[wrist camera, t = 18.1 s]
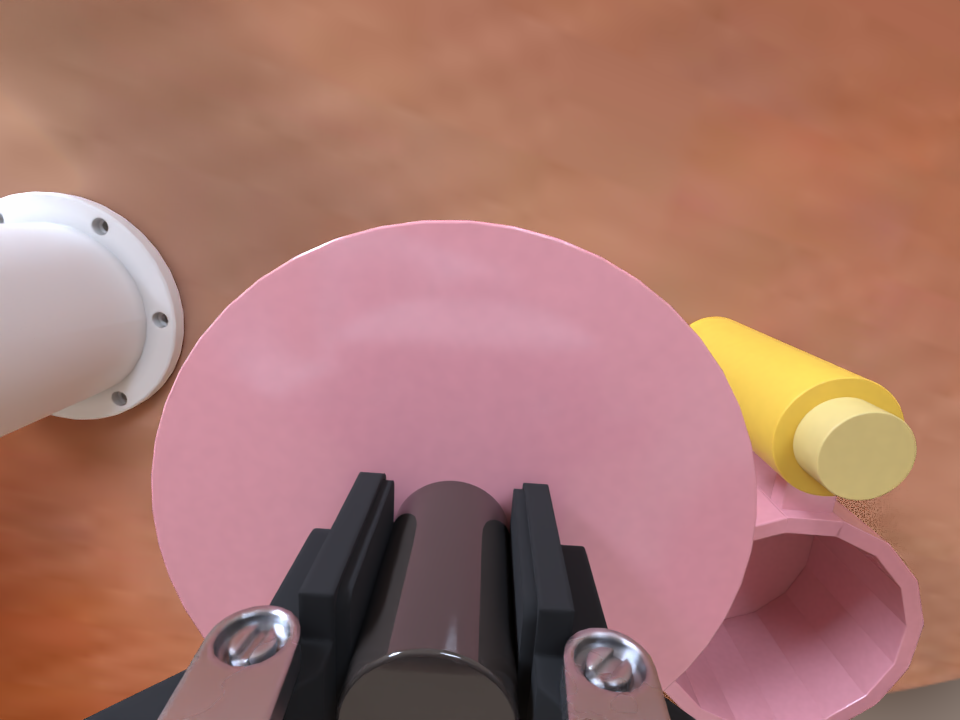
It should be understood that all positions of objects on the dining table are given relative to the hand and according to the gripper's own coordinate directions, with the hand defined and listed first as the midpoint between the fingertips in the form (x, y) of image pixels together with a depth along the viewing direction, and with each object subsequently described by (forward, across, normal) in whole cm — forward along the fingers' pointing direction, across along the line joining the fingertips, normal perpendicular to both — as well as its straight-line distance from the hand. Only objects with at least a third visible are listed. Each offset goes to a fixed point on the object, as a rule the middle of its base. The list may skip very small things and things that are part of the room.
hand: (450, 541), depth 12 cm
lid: (+1, 0, 0) cm, 1 cm away
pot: (+19, -16, +12) cm, 27 cm away
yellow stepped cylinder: (+19, -13, 0) cm, 23 cm away
